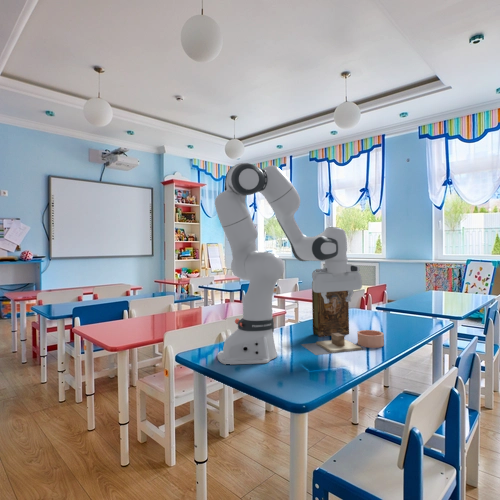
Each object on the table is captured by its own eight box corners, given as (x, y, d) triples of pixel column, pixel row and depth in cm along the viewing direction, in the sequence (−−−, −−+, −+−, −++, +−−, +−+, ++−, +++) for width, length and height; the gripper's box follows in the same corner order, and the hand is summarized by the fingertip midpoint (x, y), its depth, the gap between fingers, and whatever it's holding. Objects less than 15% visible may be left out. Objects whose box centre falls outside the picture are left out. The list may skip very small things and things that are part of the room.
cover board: (330, 352, 131) (330, 339, 131) (316, 343, 143) (315, 332, 143) (361, 349, 134) (361, 337, 134) (344, 340, 146) (344, 329, 146)
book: (344, 332, 163) (343, 279, 163) (351, 334, 158) (349, 280, 158) (312, 335, 159) (311, 280, 159) (318, 338, 154) (317, 281, 154)
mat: (315, 356, 128) (315, 355, 128) (300, 345, 143) (300, 344, 143) (364, 351, 133) (364, 350, 133) (344, 341, 147) (344, 340, 147)
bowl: (366, 349, 135) (366, 336, 135) (353, 343, 144) (352, 331, 144) (389, 347, 137) (388, 334, 137) (374, 341, 147) (374, 329, 147)
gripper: (315, 269, 133) (316, 305, 133) (363, 266, 137) (364, 301, 138) (308, 268, 139) (310, 303, 139) (355, 266, 144) (356, 299, 144)
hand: (337, 302), depth 138 cm, fingers open, 8 cm apart
